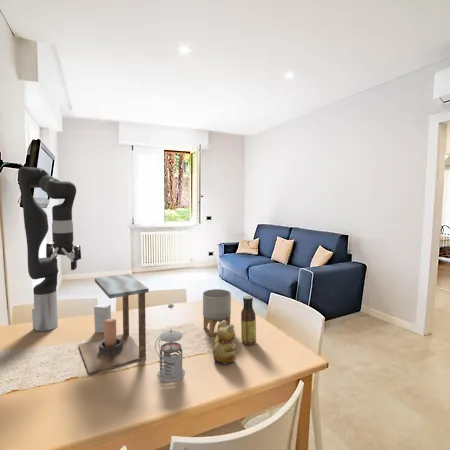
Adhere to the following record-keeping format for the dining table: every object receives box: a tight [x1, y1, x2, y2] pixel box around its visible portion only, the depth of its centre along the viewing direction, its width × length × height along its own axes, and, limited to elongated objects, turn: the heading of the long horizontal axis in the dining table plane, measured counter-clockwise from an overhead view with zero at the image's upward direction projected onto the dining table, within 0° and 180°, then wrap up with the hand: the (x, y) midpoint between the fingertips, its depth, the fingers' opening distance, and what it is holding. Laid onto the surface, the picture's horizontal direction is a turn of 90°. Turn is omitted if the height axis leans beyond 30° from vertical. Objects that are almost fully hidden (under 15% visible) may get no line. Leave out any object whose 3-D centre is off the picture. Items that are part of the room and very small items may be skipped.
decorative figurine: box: [212, 320, 237, 365], centre depth 112 cm, size 10×8×15 cm
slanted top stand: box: [78, 273, 150, 376], centre depth 117 cm, size 21×26×27 cm
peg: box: [103, 318, 117, 347], centre depth 117 cm, size 4×4×12 cm
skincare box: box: [93, 303, 112, 334], centre depth 137 cm, size 6×4×12 cm
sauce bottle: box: [240, 295, 257, 346], centre depth 126 cm, size 7×6×20 cm
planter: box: [202, 288, 232, 337], centre depth 138 cm, size 13×13×18 cm
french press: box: [154, 303, 186, 383], centre depth 103 cm, size 10×12×25 cm
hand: (64, 268), depth 124 cm, fingers open, 8 cm apart
